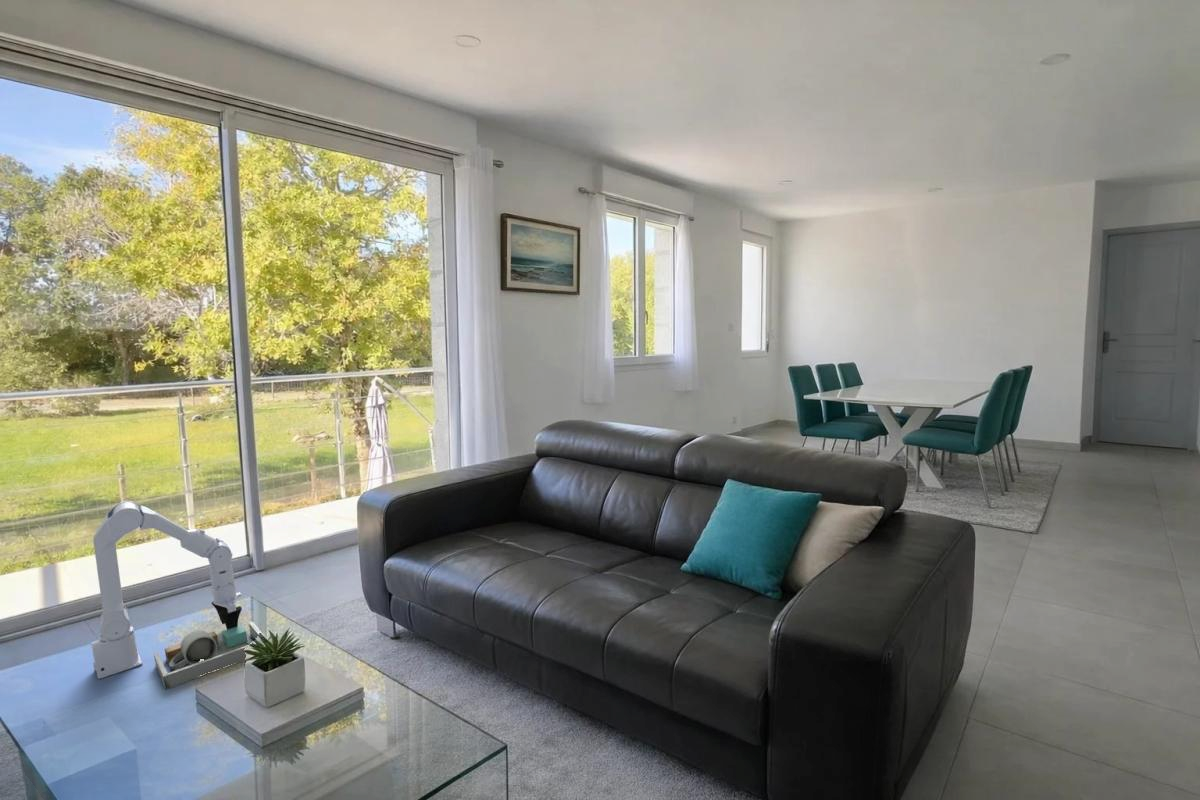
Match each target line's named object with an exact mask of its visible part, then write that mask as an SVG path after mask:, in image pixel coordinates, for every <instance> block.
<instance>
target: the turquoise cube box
mask: <svg viewBox="0 0 1200 800" xmlns="http://www.w3.org/2000/svg"><path fill="white" fill-rule="evenodd" d="M221 634H222V642H223V643H224V644H225V646H226V647H227V648H232V647H234V646H236V645H237V646H238V645H239V644H243V643H245V642H248V635H247V630H246V629H245V628H244V626H243V625H242V624H241V625H238V626H237V627H234V628H231V629H228V630H227V629H226V630H223V631H221Z"/></svg>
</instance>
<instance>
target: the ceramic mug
mask: <svg viewBox="0 0 1200 800" xmlns="http://www.w3.org/2000/svg"><path fill="white" fill-rule="evenodd" d="M208 633H209V632H207V631H206V630H205V631H204V630H201V629H200V630H199V629H197V630H193V631H190V632H189V633H187V634H186V635H185V636H184V637H183V638H182V640H181V642H180V643H181V652H180V653H178V654H177V655H176V656H175V657H174V658H173V659H172V660H171V661H170V663H168V665H169V667H170V668H171V670H172V671H176V670H178V669H181V668H184V666H185V667H186V665H187V664H188V665H189V666H190V665H193V664H195V663H198V662H199V661H200V659H204V660H207V659H210V658H213V657H215V656H216V654H217V651H218V646H217V643H216V641H215V640H214V639H213V638H212V637H211V636H210V635H209V634H208ZM183 656H184V658H183V659H181V658H182V657H183ZM179 659H180V660H181V661H180V660H179ZM178 661H179V662H178Z"/></svg>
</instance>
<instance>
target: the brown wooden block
mask: <svg viewBox="0 0 1200 800" xmlns="http://www.w3.org/2000/svg"><path fill="white" fill-rule="evenodd" d="M207 633H208V634H209V635H210V636H211V637H212V638H213V639H214V640H215V641H216V643H217V645H219V637H218V634H217V633H216V632H215V631H211V632H207ZM219 646H220V645H219ZM180 652H181V642H179V643H177V644H174V645H171V646H168V647H165V648H164V653H165V659H166V662H167V663H168V664H169V663H170V661H171V660H172V659H173V658H174V657H175V656H176V655H177V654H178V653H180ZM182 658H183V659H184V656H183V657H182Z"/></svg>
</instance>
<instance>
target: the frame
mask: <svg viewBox="0 0 1200 800" xmlns="http://www.w3.org/2000/svg"><path fill="white" fill-rule="evenodd" d="M248 627H249V632H250V635H251V637H252V636H253V637H252V639H254V638H257V636H258V634H259V633H262V634H263V632H262V631H261V629H259V627H258V626H257V625H256V623H254V621H250V622H248ZM250 644H251V643H250ZM250 644H247V645H244V646H242V647H238V648H236V649H233V650H230V651H227V652H224V653H221V654H219V655H215V656H214V657H213V658H210V659H207V660H204V661H201V662H198V663H195V664H193V665H190V664H189V665H187V666H185V667H184V666H183V667H181V668H180V669H177V670H172V671H170V672H168V671H167V669H166V667H165V664H164V662H163V660H162V658H161V656H160V654H159V652H157V653H154V654H153V657H154V662H155V667H156V670H157V673H158V675H159V677H160V680H161V682H162V684H163V686H164V689H165V690H169V689H171V688H174V687H176V686H179V685H182V684H185V683H187V682H186V681H188V680H190V681H192V680H191V679H193V678H196V677H198V676H200V675H203V674H205V673H208V672H212V671H214V670H217V669H220V668H223V667H225V666H228V665H231V664H234V663H237V664H239V663H242V662H245V661H246V660H245V658H246V654H245V652H244V649H245V648H246V647H247V646H249V645H250ZM244 660H245V661H244ZM234 665H235V664H234ZM231 666H232V665H231ZM223 669H224V668H223ZM220 670H221V669H220ZM212 673H213V672H212ZM198 678H199V677H198ZM196 679H197V678H196ZM193 680H194V679H193ZM184 682H185V683H184ZM188 682H189V681H188Z"/></svg>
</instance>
